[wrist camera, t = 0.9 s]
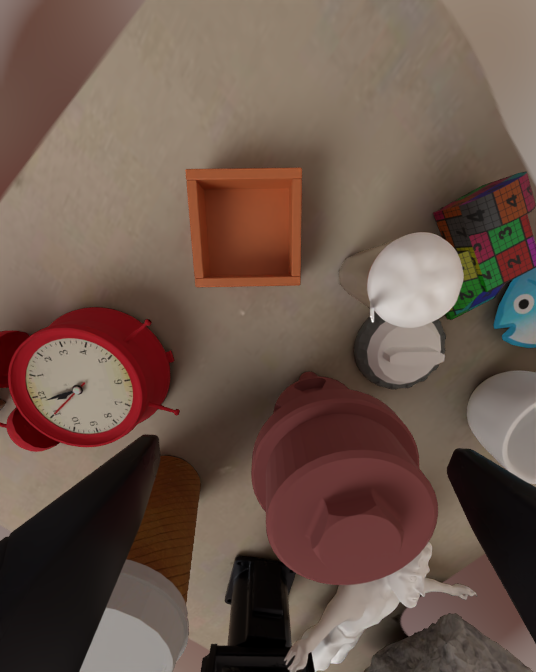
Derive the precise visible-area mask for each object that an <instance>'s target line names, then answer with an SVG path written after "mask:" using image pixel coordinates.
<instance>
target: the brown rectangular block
mask: <svg viewBox="0 0 536 672" xmlns="http://www.w3.org/2000/svg"><path fill="white" fill-rule="evenodd" d="M5 403H6V402H4V401H3V400H1V399H0V410H1V409H2V407H3V406H4V405H5Z"/></svg>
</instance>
